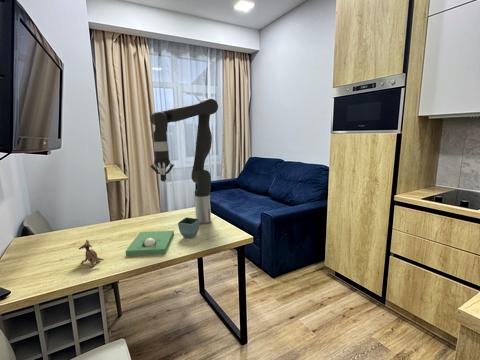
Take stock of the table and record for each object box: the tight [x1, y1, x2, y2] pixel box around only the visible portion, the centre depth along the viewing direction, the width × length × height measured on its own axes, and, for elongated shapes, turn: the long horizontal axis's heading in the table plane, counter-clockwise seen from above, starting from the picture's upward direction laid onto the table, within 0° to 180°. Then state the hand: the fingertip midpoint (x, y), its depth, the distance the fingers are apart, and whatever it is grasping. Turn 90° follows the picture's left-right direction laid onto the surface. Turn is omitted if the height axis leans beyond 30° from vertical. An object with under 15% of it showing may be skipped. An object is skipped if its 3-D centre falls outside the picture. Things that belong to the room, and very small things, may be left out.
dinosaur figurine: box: [78, 239, 105, 268], centre depth 110 cm, size 14×6×9 cm, turn 57°
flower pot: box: [177, 216, 200, 239], centre depth 136 cm, size 9×9×9 cm
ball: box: [144, 238, 155, 247], centre depth 123 cm, size 5×5×5 cm
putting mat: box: [125, 230, 175, 257], centre depth 128 cm, size 18×22×2 cm
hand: (163, 181), depth 140 cm, fingers closed
